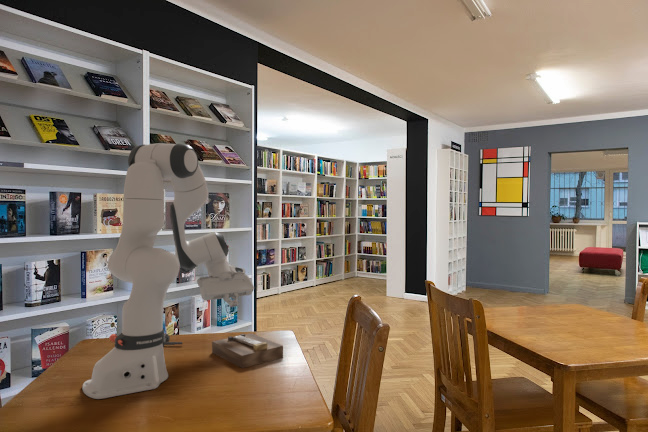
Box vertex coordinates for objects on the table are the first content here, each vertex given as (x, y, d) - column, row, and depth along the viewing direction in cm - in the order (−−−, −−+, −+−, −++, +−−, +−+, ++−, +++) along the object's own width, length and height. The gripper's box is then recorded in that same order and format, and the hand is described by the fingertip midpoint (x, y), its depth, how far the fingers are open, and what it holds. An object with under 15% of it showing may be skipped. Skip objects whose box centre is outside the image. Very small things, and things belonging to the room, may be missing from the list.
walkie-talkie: (126, 347, 158) (181, 347, 159) (126, 335, 158) (181, 335, 159) (136, 340, 167) (188, 340, 167) (136, 329, 167) (188, 329, 167)
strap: (254, 346, 144) (254, 344, 144) (232, 339, 155) (232, 336, 155) (262, 345, 146) (262, 342, 146) (240, 337, 157) (239, 335, 157)
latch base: (242, 368, 137) (242, 350, 137) (212, 352, 152) (212, 336, 152) (282, 357, 148) (283, 340, 148) (251, 343, 163) (251, 328, 163)
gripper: (198, 272, 155) (210, 303, 148) (248, 268, 169) (261, 297, 162) (192, 283, 159) (204, 314, 151) (241, 278, 172) (254, 307, 165)
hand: (234, 305), depth 157 cm, fingers closed
